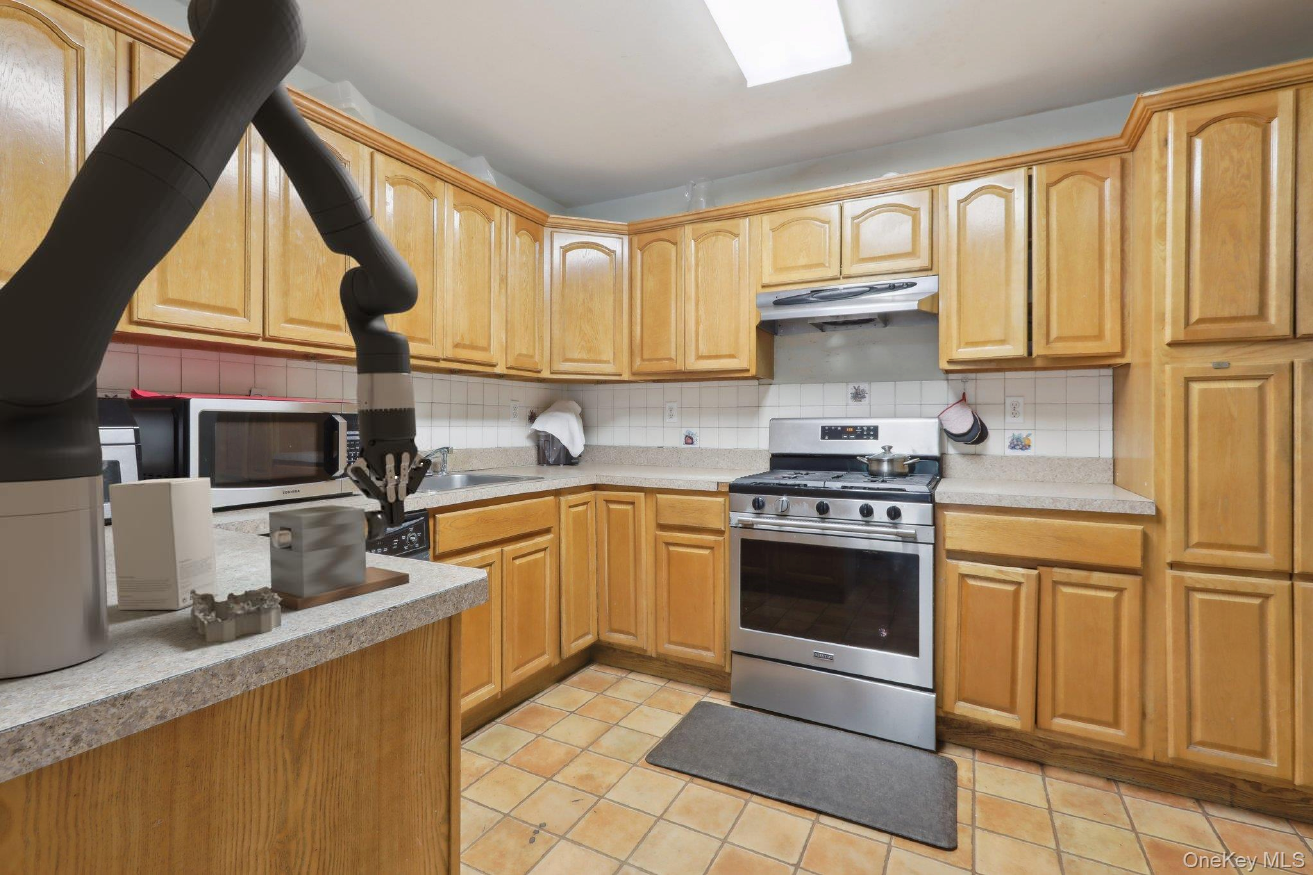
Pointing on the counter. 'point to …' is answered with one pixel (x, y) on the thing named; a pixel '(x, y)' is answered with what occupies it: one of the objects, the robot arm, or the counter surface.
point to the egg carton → (235, 614)
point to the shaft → (373, 529)
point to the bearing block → (324, 557)
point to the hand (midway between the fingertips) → (393, 526)
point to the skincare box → (163, 542)
